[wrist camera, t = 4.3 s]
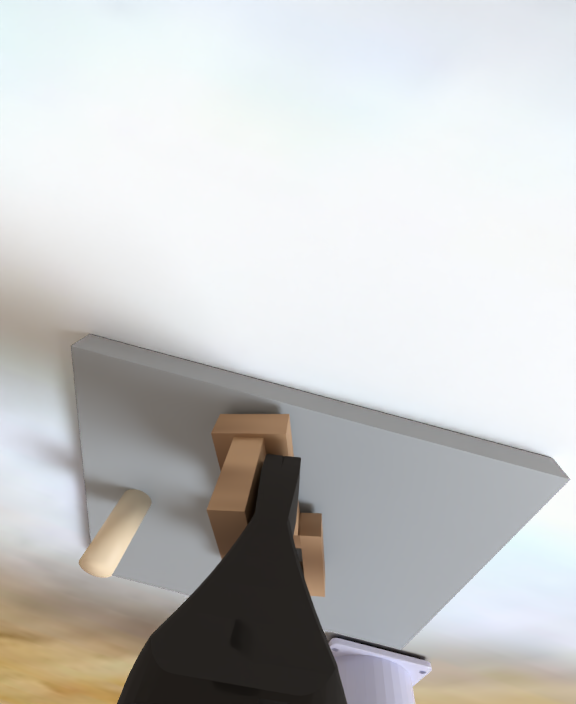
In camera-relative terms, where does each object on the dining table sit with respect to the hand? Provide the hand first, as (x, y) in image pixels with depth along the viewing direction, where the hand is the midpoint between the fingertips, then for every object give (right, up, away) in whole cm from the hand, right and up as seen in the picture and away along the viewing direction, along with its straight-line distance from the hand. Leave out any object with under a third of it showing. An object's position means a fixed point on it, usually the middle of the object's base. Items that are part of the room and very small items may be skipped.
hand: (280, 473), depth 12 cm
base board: (0, -5, +6) cm, 8 cm away
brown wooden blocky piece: (-1, -3, +4) cm, 5 cm away
